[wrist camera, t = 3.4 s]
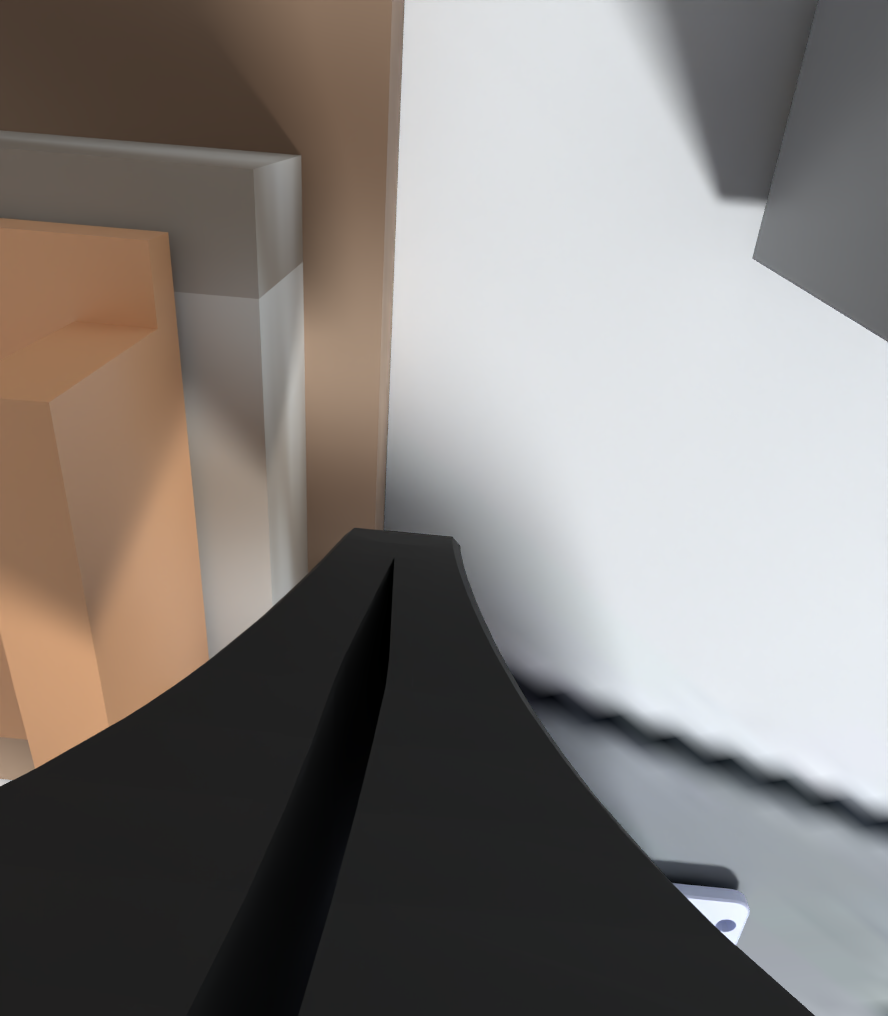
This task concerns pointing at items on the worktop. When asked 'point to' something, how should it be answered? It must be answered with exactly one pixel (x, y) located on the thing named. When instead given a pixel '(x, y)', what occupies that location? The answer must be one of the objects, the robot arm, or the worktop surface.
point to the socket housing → (235, 245)
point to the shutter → (91, 484)
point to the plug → (836, 168)
